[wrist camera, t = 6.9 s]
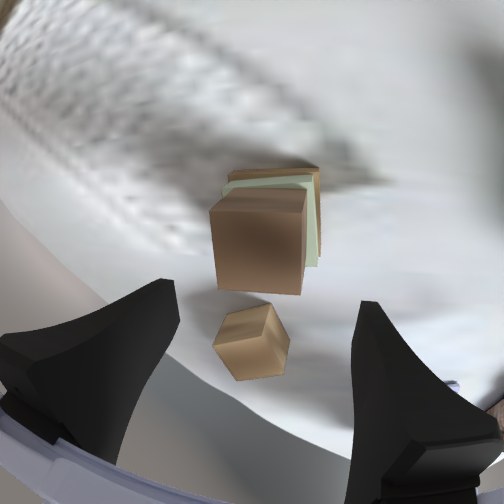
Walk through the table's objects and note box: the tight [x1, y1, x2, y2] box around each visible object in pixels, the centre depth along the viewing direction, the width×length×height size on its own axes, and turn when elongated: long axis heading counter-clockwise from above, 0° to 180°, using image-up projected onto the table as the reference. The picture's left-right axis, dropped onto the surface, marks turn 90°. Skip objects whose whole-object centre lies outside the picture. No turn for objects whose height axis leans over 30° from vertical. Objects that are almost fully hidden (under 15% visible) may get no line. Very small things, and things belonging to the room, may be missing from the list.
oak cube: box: [212, 303, 290, 381], centre depth 24 cm, size 4×4×4 cm
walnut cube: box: [209, 188, 307, 295], centre depth 16 cm, size 4×4×4 cm
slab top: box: [221, 174, 318, 267], centre depth 19 cm, size 5×5×2 cm
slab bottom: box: [228, 168, 321, 257], centre depth 20 cm, size 6×6×2 cm
